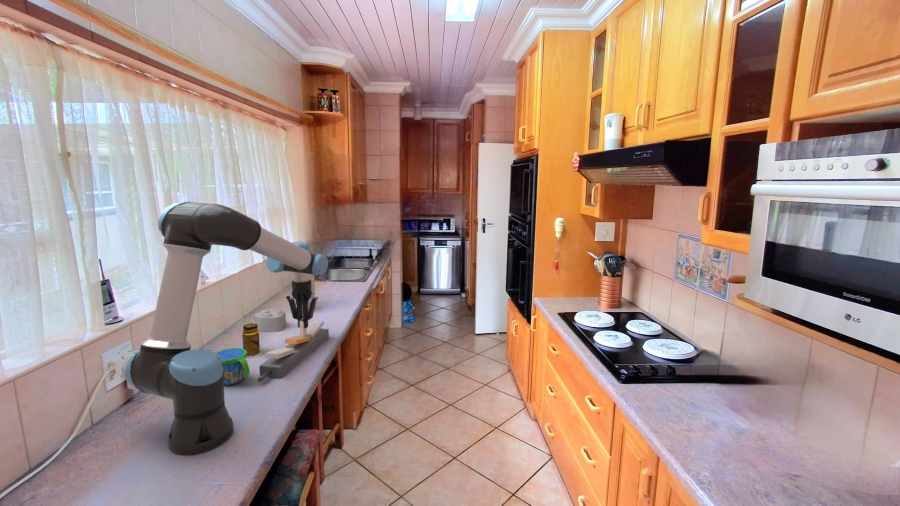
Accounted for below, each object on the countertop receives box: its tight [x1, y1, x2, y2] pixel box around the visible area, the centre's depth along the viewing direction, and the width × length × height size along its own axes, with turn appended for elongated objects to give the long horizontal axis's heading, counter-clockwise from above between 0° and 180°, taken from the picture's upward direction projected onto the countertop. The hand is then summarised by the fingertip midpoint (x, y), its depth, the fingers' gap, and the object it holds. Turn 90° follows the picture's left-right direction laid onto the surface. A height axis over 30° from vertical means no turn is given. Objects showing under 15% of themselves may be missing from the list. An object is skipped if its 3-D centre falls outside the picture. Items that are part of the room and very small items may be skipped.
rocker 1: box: [265, 347, 294, 359], centre depth 151 cm, size 11×5×2 cm, turn 172°
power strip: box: [257, 327, 330, 383], centre depth 162 cm, size 46×8×4 cm, turn 172°
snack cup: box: [215, 347, 251, 386], centre depth 141 cm, size 16×10×10 cm
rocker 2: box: [284, 335, 310, 345], centre depth 164 cm, size 11×5×2 cm, turn 172°
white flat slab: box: [305, 319, 325, 338], centre depth 176 cm, size 11×5×2 cm, turn 172°
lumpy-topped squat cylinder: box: [254, 308, 287, 333], centre depth 192 cm, size 10×13×9 cm
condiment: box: [241, 322, 263, 358], centre depth 163 cm, size 7×8×12 cm
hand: (303, 335), depth 168 cm, fingers closed
